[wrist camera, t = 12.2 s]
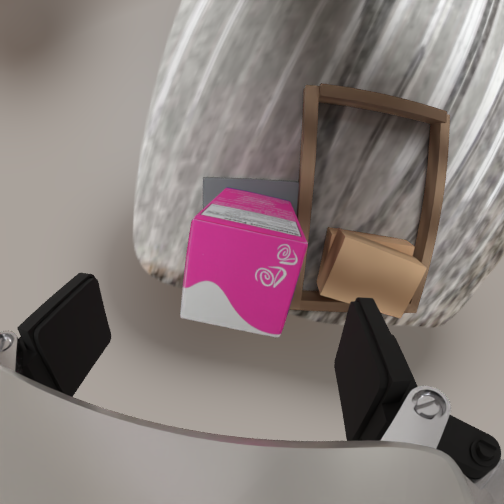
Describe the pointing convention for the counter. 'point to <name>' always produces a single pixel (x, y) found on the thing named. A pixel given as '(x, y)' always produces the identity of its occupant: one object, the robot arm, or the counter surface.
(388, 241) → the offcut lower
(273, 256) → the supplement box
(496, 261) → the counter surface
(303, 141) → the wooden frame tray
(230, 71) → the counter surface
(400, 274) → the offcut upper
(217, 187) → the mat
